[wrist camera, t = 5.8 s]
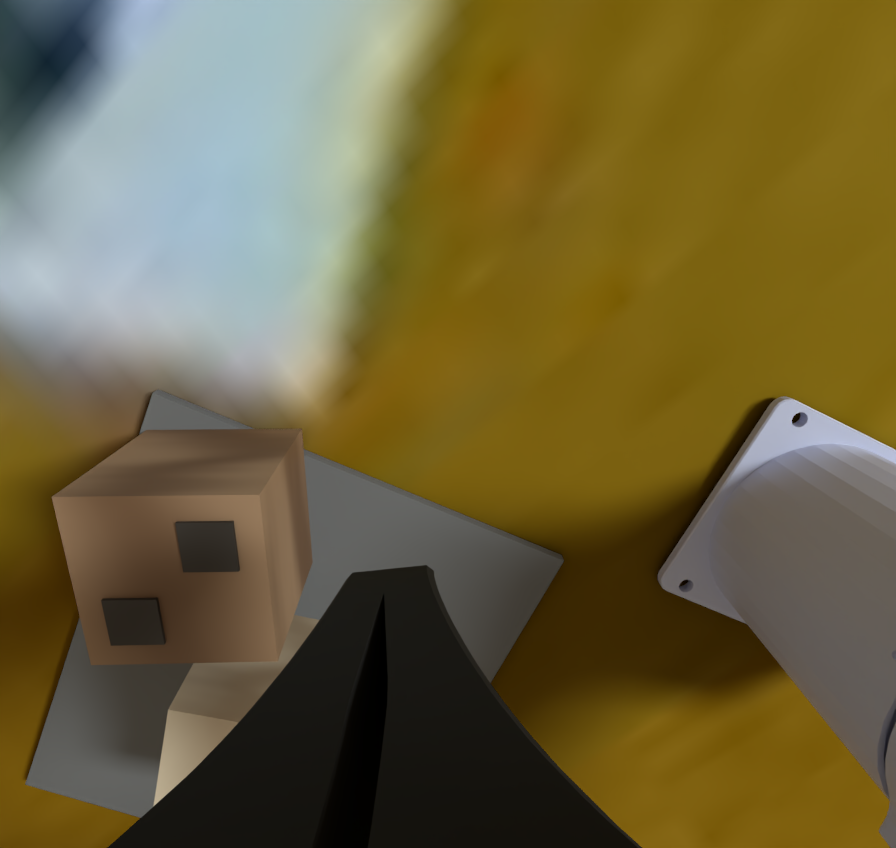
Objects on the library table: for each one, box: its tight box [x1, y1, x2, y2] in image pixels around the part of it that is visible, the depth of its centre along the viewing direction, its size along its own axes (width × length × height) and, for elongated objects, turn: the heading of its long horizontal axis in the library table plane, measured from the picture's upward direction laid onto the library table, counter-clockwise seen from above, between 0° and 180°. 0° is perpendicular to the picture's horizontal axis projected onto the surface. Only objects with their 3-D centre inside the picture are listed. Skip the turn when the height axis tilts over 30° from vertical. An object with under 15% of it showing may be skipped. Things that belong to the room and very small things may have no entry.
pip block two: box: [52, 429, 313, 665], centre depth 17 cm, size 5×5×5 cm
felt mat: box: [26, 390, 564, 818], centre depth 22 cm, size 15×18×1 cm
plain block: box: [154, 615, 319, 806], centre depth 20 cm, size 5×5×5 cm
